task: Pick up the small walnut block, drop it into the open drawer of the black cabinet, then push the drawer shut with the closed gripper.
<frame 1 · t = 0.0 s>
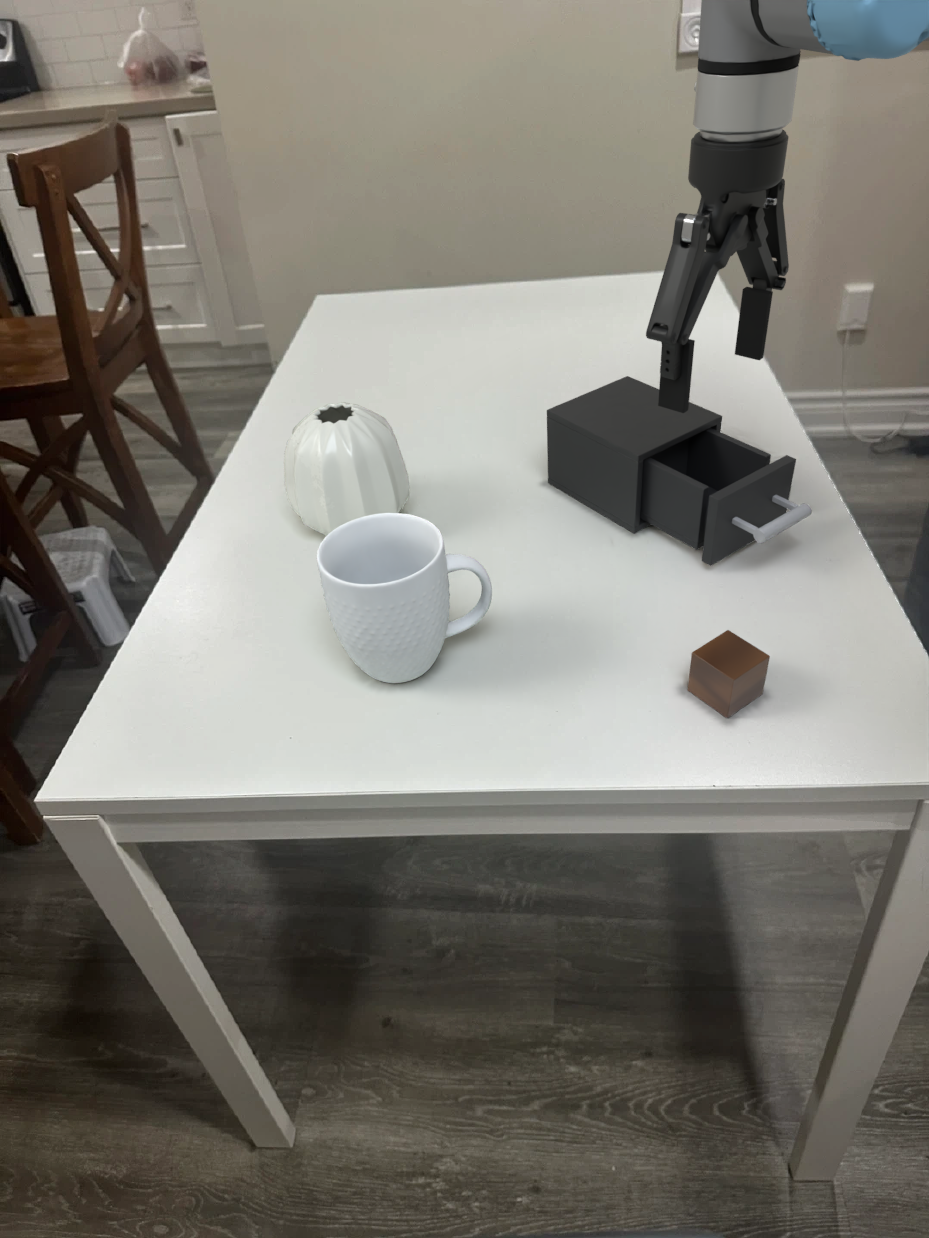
hand: (712, 381, 82), 17 cm above the table, tool pointing down, fingers open, 13 cm apart
block: (724, 692, 75), on the table
vase: (354, 518, 102), on the table
cabinet: (628, 487, 102), on the table
mug: (410, 659, 82), on the table
drawer: (717, 494, 90), point 5 cm above the table, slide at 9.0 cm
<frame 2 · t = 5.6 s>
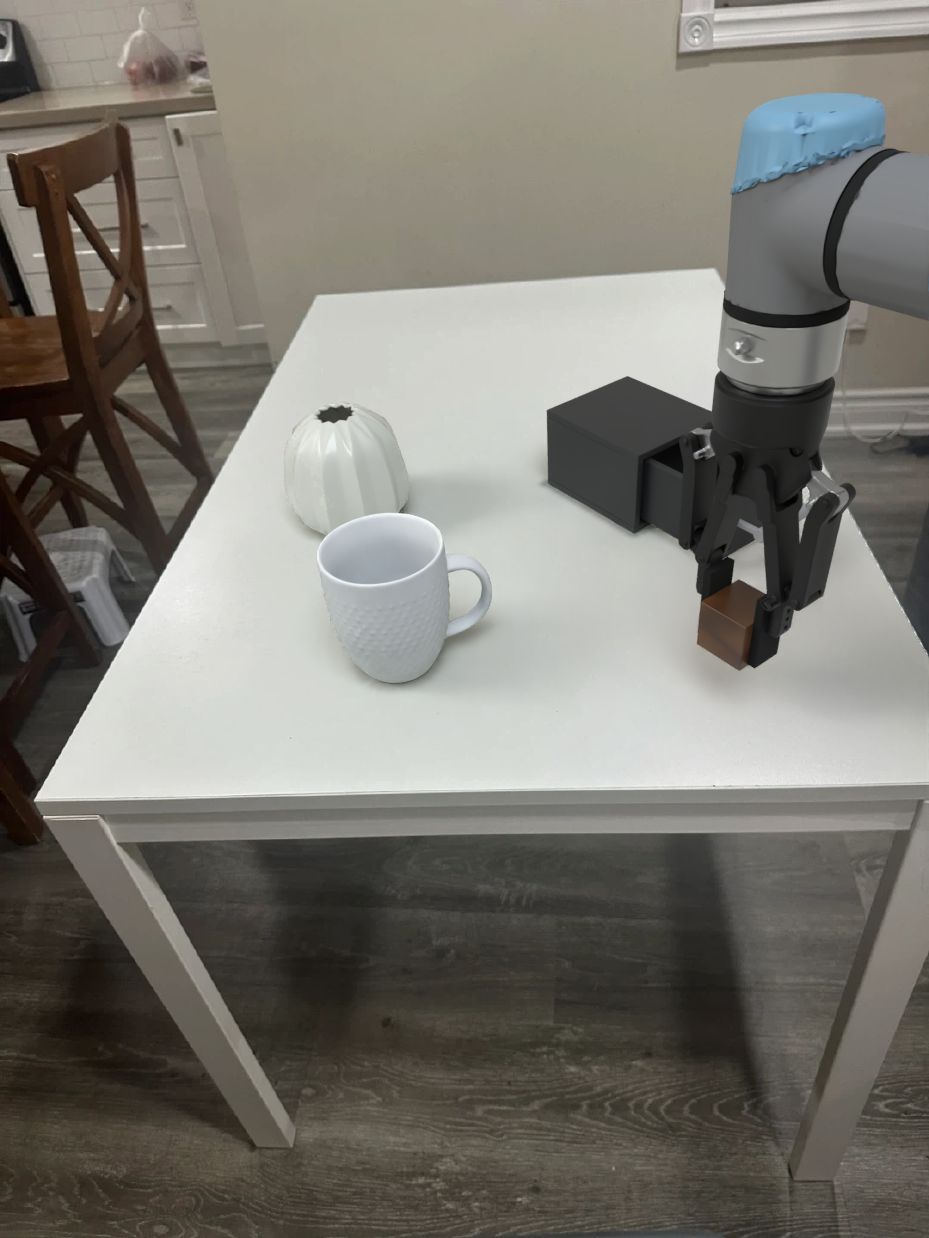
hand: (736, 642, 71), 6 cm above the table, tool pointing down, fingers closed on block, 4 cm apart
block: (736, 645, 71), point 6 cm above the table, touching gripper
everything else where it was.
when the fingers open (6 cm above the table, at t = 10.9 s): block drops 3 cm, resting on drawer.
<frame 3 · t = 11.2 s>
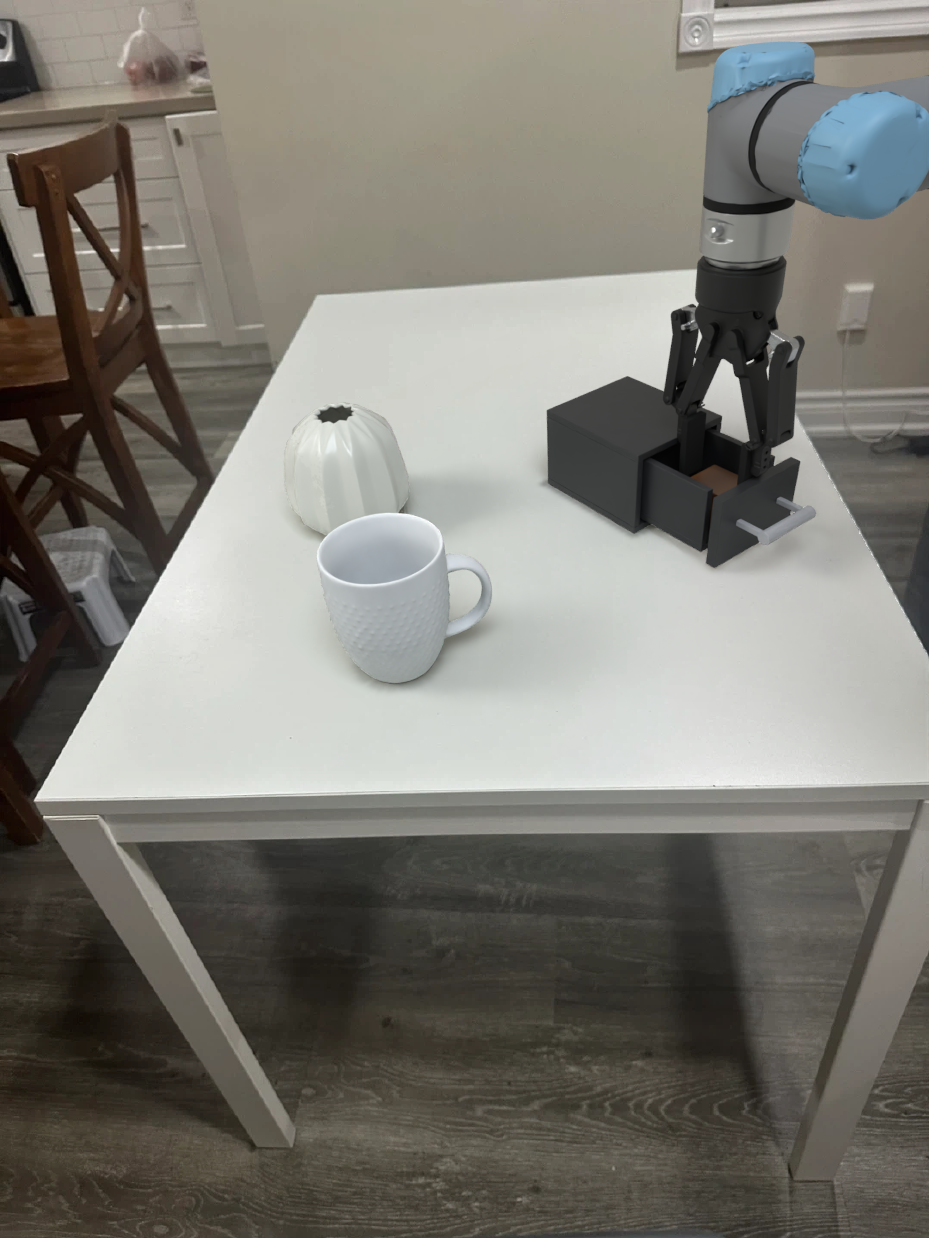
hand: (717, 484, 90), 6 cm above the table, tool pointing down, fingers open, 7 cm apart
block: (712, 516, 92), point 2 cm above the table, touching drawer
drawer: (721, 496, 90), point 5 cm above the table, slide at 9.5 cm, touching block, gripper
everything else where it was.
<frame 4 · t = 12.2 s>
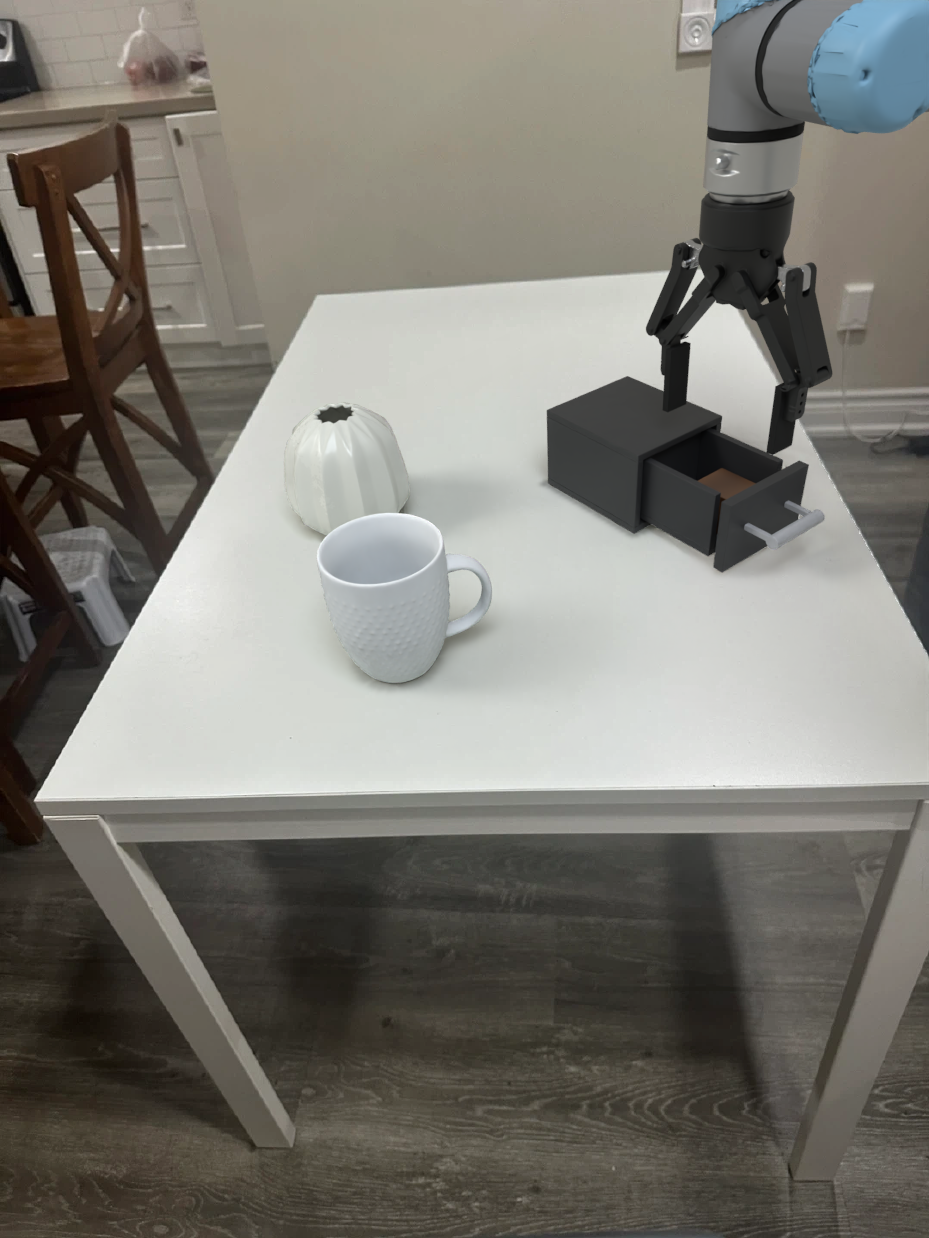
hand: (724, 427, 85), 13 cm above the table, tool pointing down, fingers open, 12 cm apart
drawer: (729, 500, 89), point 5 cm above the table, slide at 10.5 cm, touching block
everything else where it was.
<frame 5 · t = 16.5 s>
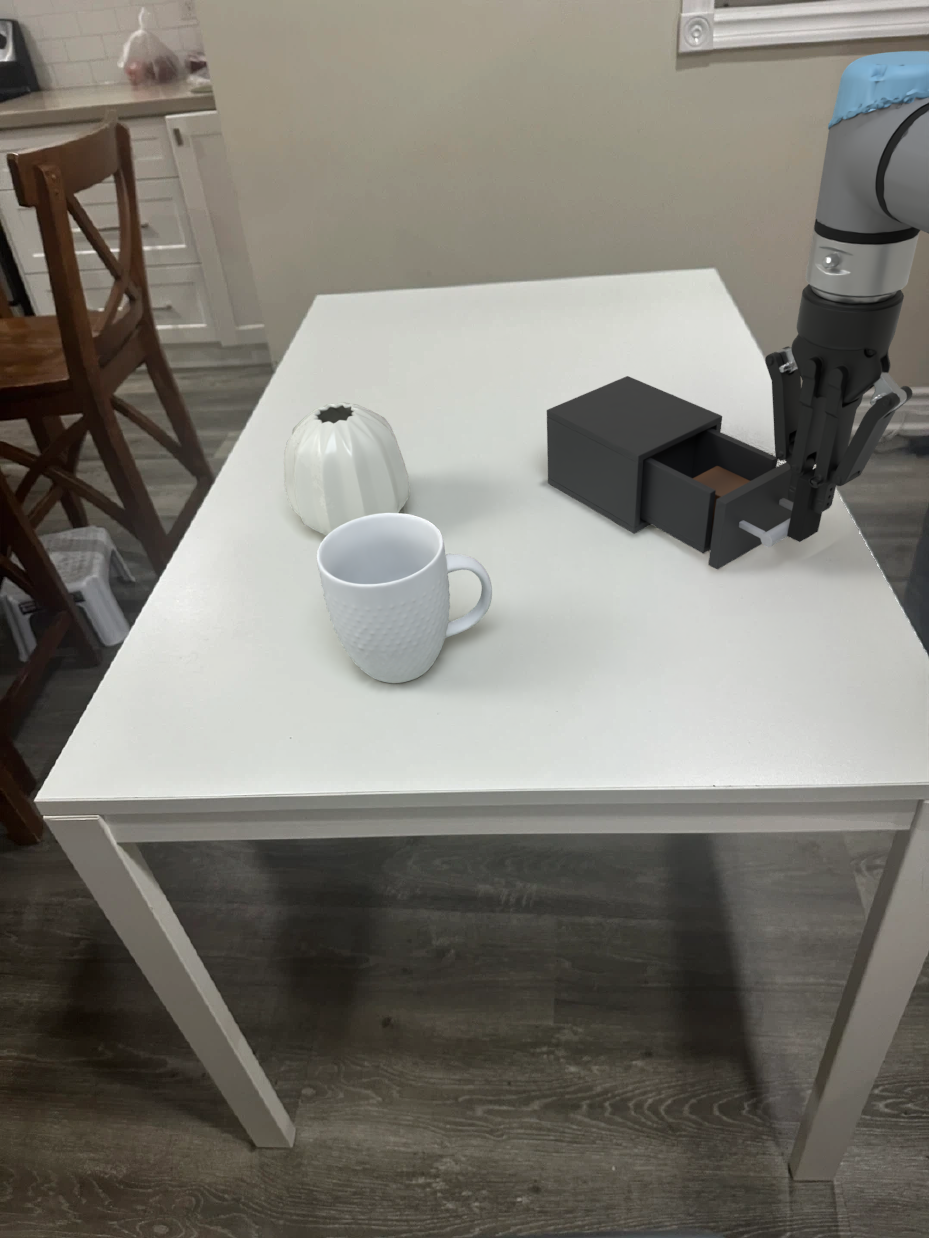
hand: (802, 533, 83), 5 cm above the table, tool pointing down, fingers closed
drawer: (724, 498, 90), point 5 cm above the table, slide at 9.9 cm, touching block, gripper
everything else where it was.
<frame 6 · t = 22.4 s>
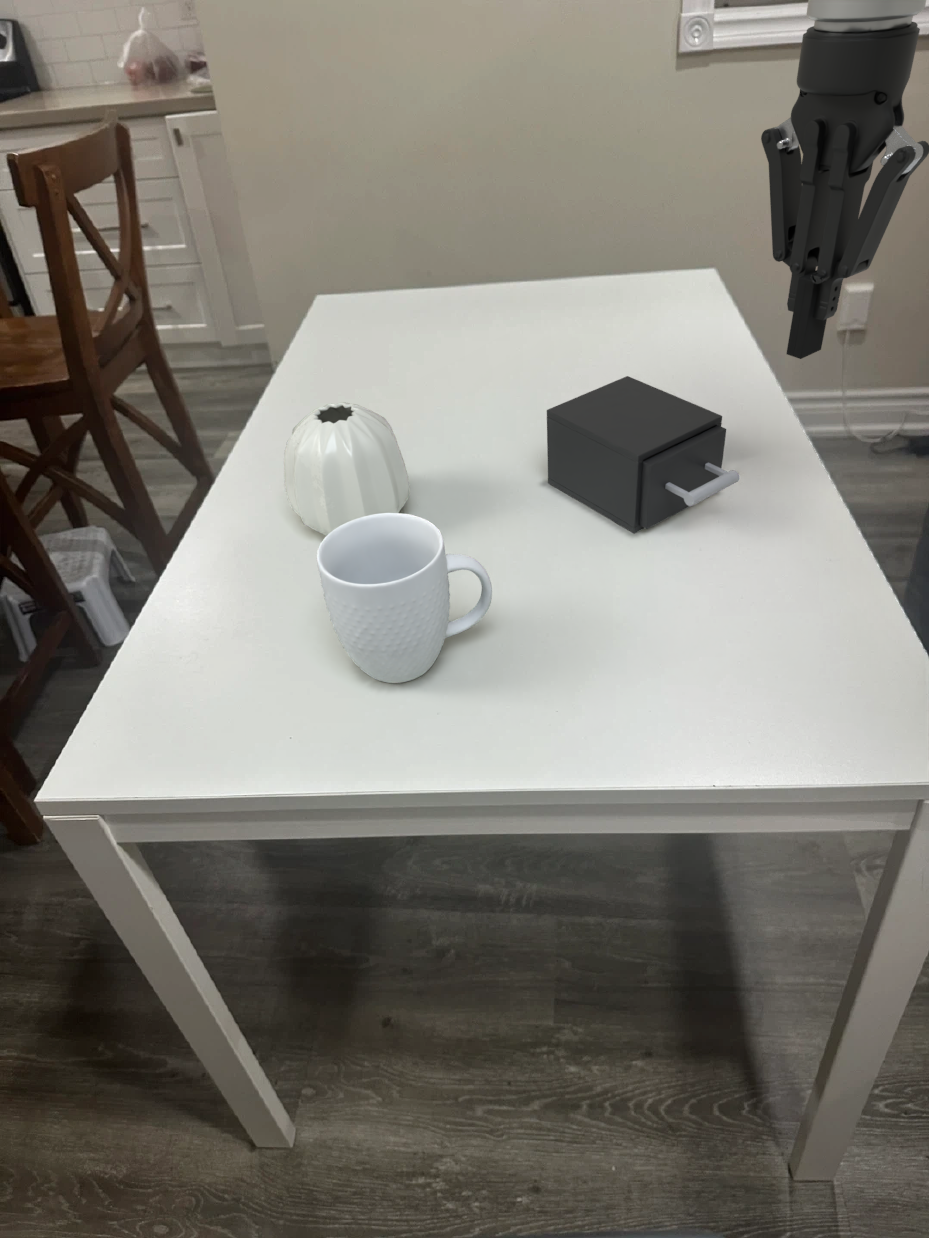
hand: (803, 351, 74), 22 cm above the table, tool pointing down, fingers closed
block: (647, 482, 99), point 2 cm above the table, touching drawer
drawer: (655, 463, 96), point 5 cm above the table, slide at 0.0 cm, touching block, cabinet
everything else where it was.
at the end: block inside the target area in the cabinet (2.9 cm from its centre), point 2.0 cm above the cabinet's base; drawer slide at 0.0 cm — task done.
